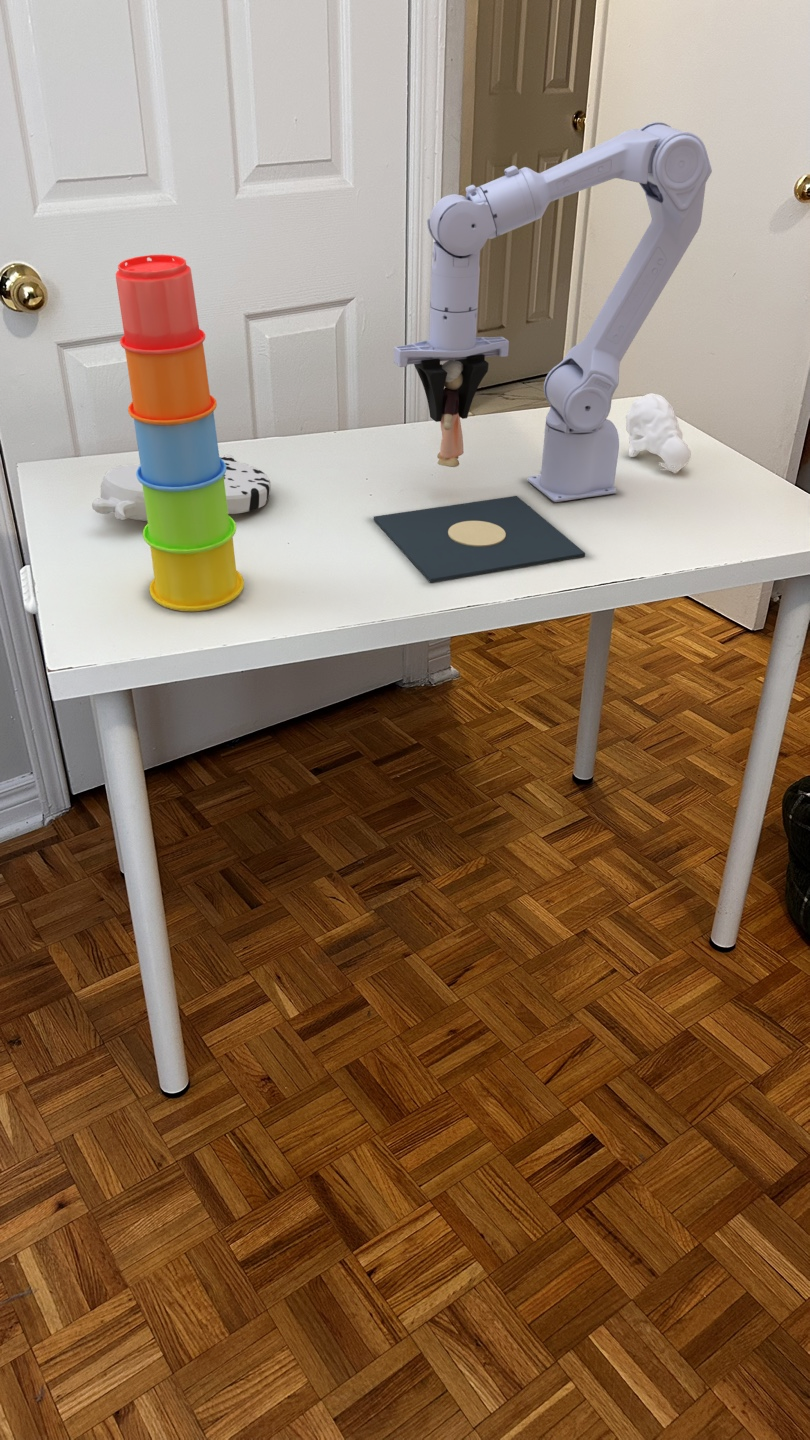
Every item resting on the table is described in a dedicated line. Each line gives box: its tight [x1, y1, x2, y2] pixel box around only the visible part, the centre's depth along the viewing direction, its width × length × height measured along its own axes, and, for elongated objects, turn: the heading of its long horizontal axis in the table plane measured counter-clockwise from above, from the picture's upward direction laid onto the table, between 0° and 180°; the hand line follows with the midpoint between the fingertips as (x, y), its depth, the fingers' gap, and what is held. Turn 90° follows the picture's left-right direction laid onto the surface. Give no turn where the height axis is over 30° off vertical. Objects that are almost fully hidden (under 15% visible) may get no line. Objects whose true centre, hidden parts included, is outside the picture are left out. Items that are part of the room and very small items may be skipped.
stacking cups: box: [115, 254, 245, 612], centre depth 114 cm, size 10×10×35 cm
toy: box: [91, 454, 272, 522], centre depth 142 cm, size 22×5×20 cm
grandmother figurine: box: [436, 360, 464, 468], centre depth 142 cm, size 8×4×13 cm, turn 9°
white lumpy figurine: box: [625, 392, 692, 474], centre depth 157 cm, size 6×8×12 cm
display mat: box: [373, 495, 586, 583], centre depth 137 cm, size 20×18×1 cm
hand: (448, 417), depth 142 cm, fingers closed on grandmother figurine, 3 cm apart
